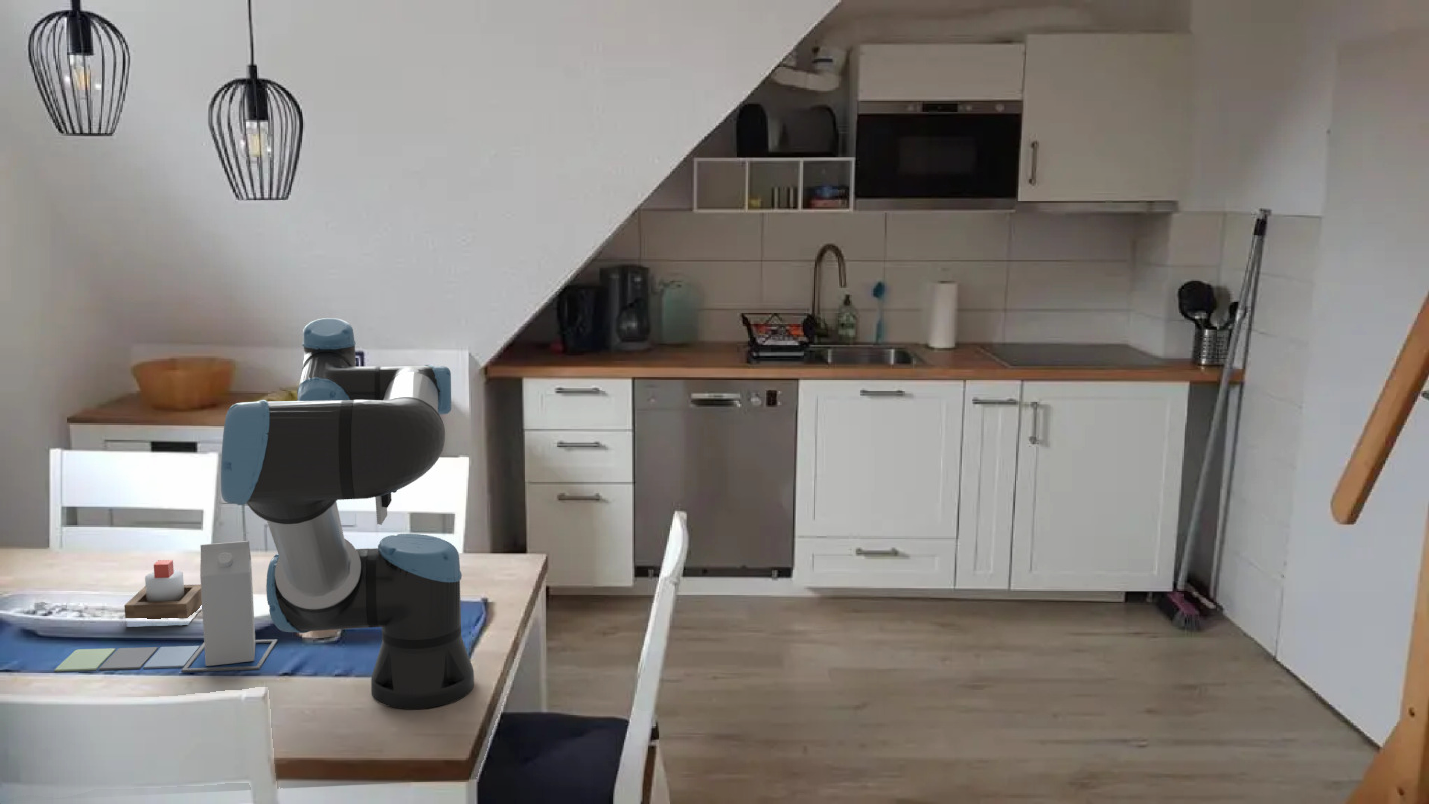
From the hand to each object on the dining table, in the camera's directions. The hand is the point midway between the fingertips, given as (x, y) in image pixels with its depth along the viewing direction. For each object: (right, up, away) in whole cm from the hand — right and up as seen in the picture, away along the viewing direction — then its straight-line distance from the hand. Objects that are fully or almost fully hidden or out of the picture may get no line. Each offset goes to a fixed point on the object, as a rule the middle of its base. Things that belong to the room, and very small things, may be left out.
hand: (343, 513), depth 191 cm
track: (-24, -22, -12) cm, 35 cm away
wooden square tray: (-33, -19, +6) cm, 39 cm away
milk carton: (-15, -22, -10) cm, 29 cm away
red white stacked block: (-33, -15, +5) cm, 37 cm away
